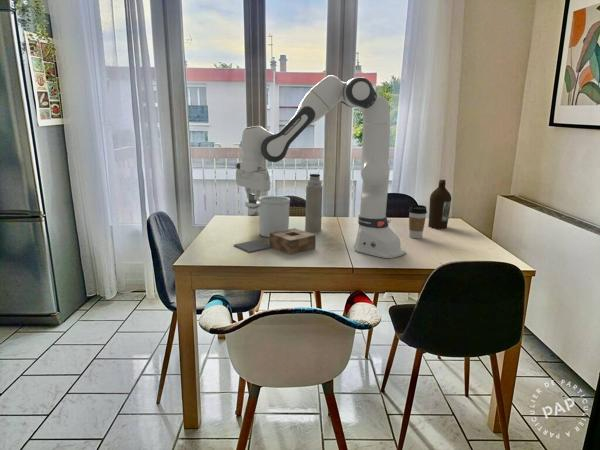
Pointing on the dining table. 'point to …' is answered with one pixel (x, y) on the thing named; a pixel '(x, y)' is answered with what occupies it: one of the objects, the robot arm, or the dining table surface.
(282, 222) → the utensil holder
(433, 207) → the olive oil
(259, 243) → the mat
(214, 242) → the dining table surface
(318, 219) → the thermos bottle
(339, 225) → the dining table surface
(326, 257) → the dining table surface
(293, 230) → the socket block
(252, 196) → the end cover
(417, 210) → the coffee cup
